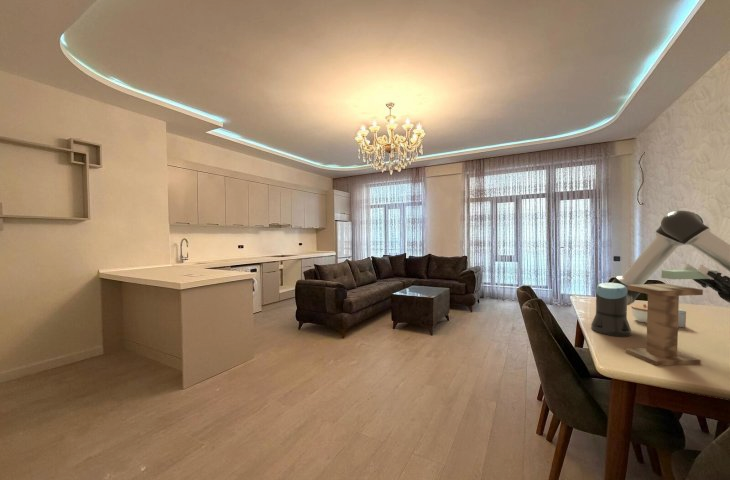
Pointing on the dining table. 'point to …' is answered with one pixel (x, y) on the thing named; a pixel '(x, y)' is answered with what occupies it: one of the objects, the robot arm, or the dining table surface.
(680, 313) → the medicine box
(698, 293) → the walnut stand
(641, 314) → the lidded jar
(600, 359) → the dining table surface
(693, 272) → the sage bar
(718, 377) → the dining table surface
